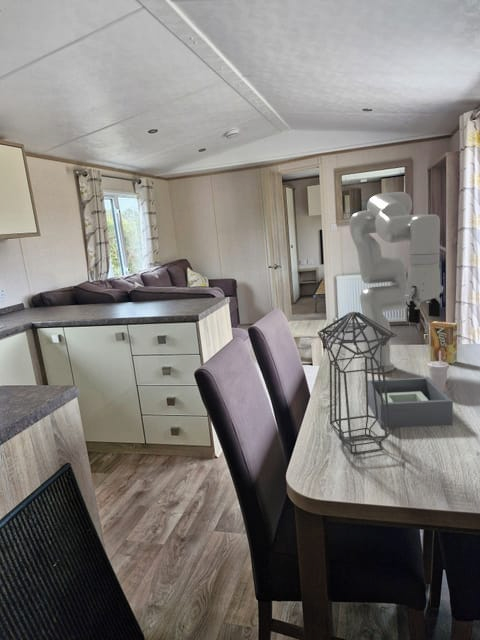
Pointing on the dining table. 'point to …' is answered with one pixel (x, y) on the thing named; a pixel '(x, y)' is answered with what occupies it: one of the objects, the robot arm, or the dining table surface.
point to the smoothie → (438, 372)
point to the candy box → (443, 341)
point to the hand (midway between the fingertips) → (424, 319)
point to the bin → (411, 403)
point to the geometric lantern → (383, 341)
